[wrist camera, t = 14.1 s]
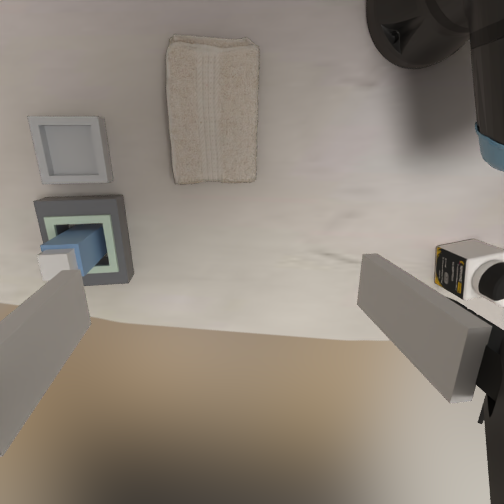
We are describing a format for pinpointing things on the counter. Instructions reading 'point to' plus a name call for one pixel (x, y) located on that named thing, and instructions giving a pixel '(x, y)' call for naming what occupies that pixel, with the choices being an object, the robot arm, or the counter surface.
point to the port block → (84, 212)
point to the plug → (73, 250)
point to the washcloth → (212, 108)
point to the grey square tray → (71, 149)
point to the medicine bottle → (471, 270)
